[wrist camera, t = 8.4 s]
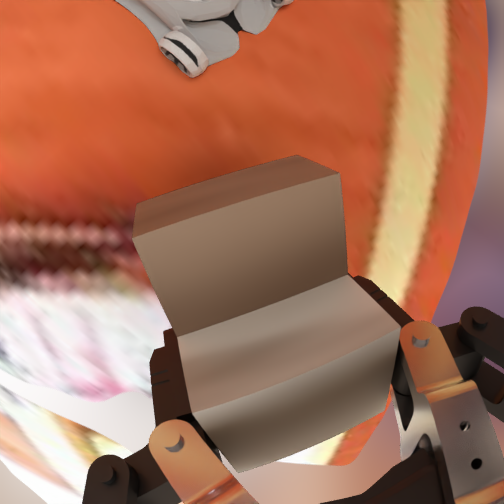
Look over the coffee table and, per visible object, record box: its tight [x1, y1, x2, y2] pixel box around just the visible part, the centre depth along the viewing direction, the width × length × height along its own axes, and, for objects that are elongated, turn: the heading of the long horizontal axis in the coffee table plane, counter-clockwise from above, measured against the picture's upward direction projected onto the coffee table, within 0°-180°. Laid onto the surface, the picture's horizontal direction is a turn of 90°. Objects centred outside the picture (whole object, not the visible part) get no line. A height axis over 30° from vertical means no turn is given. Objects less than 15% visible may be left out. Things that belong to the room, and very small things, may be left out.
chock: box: [132, 155, 401, 473], centre depth 9 cm, size 7×5×5 cm
